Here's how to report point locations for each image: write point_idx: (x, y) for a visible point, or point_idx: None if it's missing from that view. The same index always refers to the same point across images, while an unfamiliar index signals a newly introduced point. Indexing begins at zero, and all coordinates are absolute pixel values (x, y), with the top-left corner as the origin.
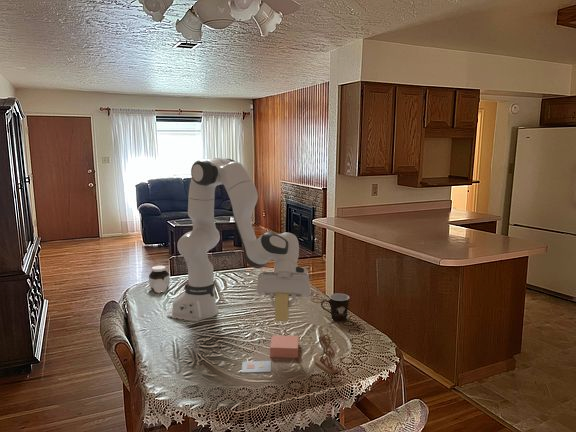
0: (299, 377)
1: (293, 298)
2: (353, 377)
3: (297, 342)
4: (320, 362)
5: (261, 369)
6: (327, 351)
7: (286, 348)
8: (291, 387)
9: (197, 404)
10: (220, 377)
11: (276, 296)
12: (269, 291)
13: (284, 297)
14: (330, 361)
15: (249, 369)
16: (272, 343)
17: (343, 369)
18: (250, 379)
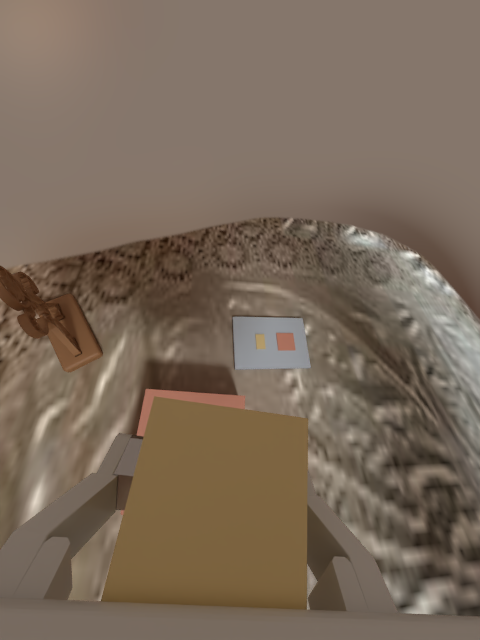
0: (161, 291)
1: (59, 507)
2: None
3: None
4: (82, 342)
5: (257, 326)
6: (38, 309)
7: (186, 392)
8: (185, 257)
9: (349, 233)
10: (340, 305)
11: (289, 438)
12: (428, 624)
13: (188, 401)
14: (49, 303)
15: (286, 328)
16: None
17: None
18: (276, 292)
